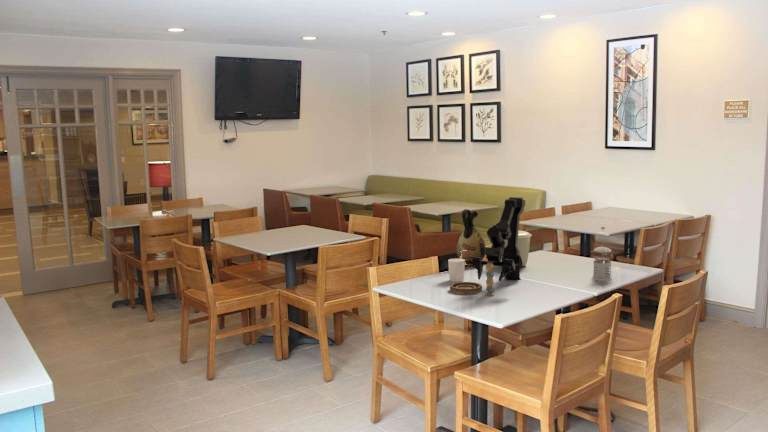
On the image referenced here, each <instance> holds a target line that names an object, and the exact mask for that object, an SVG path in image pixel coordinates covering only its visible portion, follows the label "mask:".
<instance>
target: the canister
mask: <svg viewBox="0 0 768 432" xmlns="http://www.w3.org/2000/svg"><path fill="white" fill-rule="evenodd" d="M532 236H533V234H531V233H530V232H528V231H524V230H520V229H519V230H518V243H517V247H518V249H519V251H520V255H521V258H522V261H523V267H525V266H526V265H527V263H528V259H529V252H530V244H531V237H532ZM504 241H505V247H506V246H507V244H508V240H504ZM501 262H502V259H501Z"/></svg>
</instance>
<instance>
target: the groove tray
mask: <svg viewBox="0 0 768 432" xmlns="http://www.w3.org/2000/svg"><path fill="white" fill-rule="evenodd" d="M449 291H450V292H451V293H452V294H457V295H476V294H477V295H478V294H479V293H480V294H481V293H482V292H483V285H482V284H481V283H480V282H479V283H478V282H475V281H474V282H473V281H462V282H452V283H451V284H450V285H449Z"/></svg>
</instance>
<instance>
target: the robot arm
mask: <svg viewBox="0 0 768 432" xmlns="http://www.w3.org/2000/svg"><path fill="white" fill-rule="evenodd" d="M525 207H526V200H525V199H524V197H516V196H513V197H512V196H509V198H507V199H504V207H503V209H502V214H501V217H500V220H499V222H497V223H496V224H495V225H492V226H491V227H489V228H488V230H486V235H487V238H488V240H489V242H490V244H491V247H486V246H485V247H486V249H485V258H486V260H484V259H483V260H482V258H481V257H473V258H472V260H471V262H472V264H473V265H472V267H473V269H476V270H477V278H478V280H479V281H480V280H481V278H482V275H483V271H484V269H483V268H484V266H486V265H487V263H488V262H492V263H493V265H494V267H501V270H500V274H499V277H498V282H501V281H502V280H503V279H504V278H505V279H506V280H507V281H513V280H514V281H515V280H516V281H517V280H521V277H520V276H521V275H520V273H521V272H520V271H521V270H520V269H521V268H523V267H524V266H523V261H522V258H521V255H520V251H519V249H518V247H517V243H518V230H519V231H520V229H519V228H520V216H521V215H522V214H523V212H524V209H525ZM504 240H508V244H507V246H506V247H505V241H504ZM501 259H502V262H501Z"/></svg>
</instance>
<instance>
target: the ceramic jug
mask: <svg viewBox="0 0 768 432" xmlns="http://www.w3.org/2000/svg"><path fill="white" fill-rule="evenodd" d="M478 215H479V213H478V212H477V211H475V210H473V211H471V210H470V209H468V208H467V209H466V208H465V209H463V210H462V211H461V218H462V222H463V226H464V229H463V231H462V233H461V234H460V236H459V239H458V241H457V244H456V255H457V257H458V259H460V256H461V254H462V259H464V260H465V262H466V264H467V266H473V264H472V262H471V260H472V258H473V257H481V258H482V260H484V259H485V258H486V255H485V249H486V242H485V240H484V238H483V237H482V235H481V233H480V232H479V230H478V229H477V228H476V226H475V225H474V222H473V221H474V220H475V218H477V217H478ZM462 250H467V251H462ZM460 251H461V252H462V253H461V252H460Z"/></svg>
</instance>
